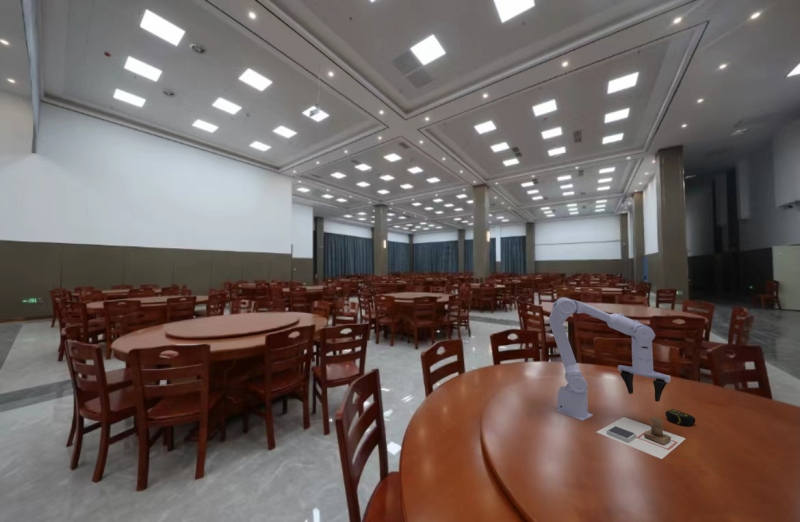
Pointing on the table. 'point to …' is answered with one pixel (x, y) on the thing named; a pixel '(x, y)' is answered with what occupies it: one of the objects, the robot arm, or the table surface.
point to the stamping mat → (639, 437)
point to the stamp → (657, 432)
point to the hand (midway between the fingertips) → (643, 396)
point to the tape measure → (679, 417)
